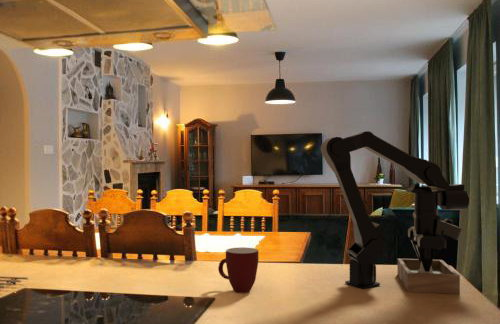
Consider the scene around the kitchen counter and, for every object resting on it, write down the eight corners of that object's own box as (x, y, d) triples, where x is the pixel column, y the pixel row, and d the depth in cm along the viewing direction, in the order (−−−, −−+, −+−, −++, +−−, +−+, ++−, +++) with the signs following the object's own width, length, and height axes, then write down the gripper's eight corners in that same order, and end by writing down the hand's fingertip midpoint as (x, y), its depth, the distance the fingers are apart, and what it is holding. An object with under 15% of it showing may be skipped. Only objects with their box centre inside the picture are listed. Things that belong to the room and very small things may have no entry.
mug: (211, 292, 114) (211, 251, 114) (223, 284, 121) (223, 246, 121) (252, 296, 110) (252, 254, 110) (262, 288, 118) (262, 248, 118)
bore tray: (459, 294, 113) (459, 275, 113) (407, 291, 115) (407, 273, 115) (442, 276, 130) (442, 259, 130) (397, 274, 132) (397, 258, 132)
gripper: (469, 214, 112) (468, 280, 112) (449, 207, 130) (449, 263, 130) (420, 213, 114) (420, 277, 114) (407, 206, 132) (407, 261, 132)
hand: (425, 269), depth 123 cm, fingers closed on rook chess piece, 3 cm apart
